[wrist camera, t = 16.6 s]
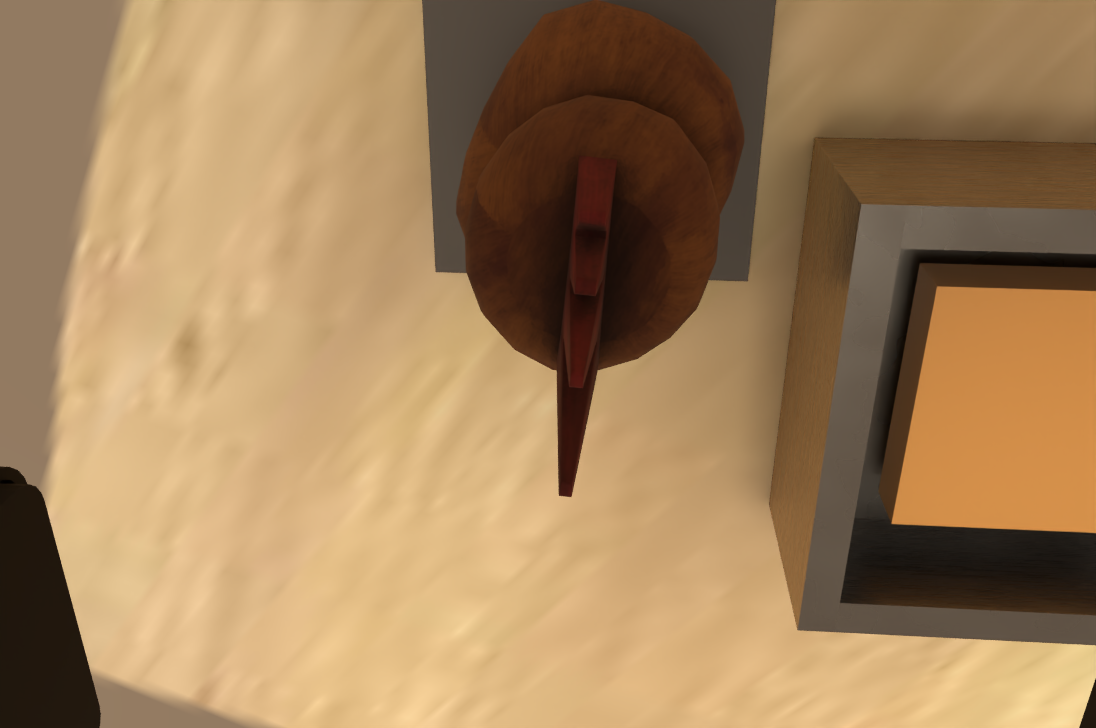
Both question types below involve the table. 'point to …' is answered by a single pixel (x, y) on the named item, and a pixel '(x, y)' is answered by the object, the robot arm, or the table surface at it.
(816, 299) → the box
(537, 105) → the wooden figurine
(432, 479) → the table surface
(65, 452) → the table surface
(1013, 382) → the button
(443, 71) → the mat
